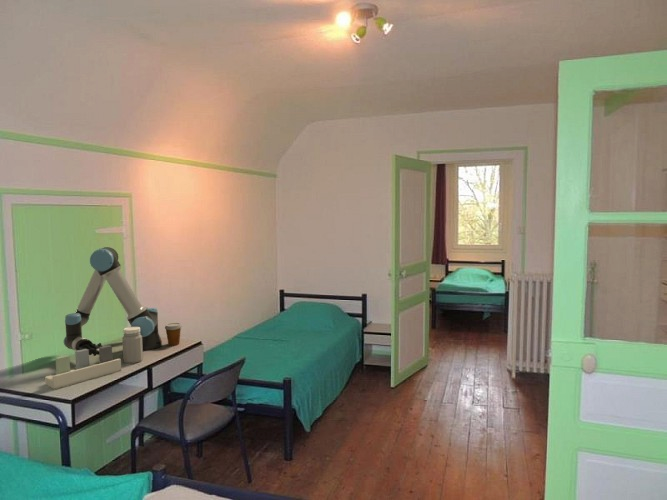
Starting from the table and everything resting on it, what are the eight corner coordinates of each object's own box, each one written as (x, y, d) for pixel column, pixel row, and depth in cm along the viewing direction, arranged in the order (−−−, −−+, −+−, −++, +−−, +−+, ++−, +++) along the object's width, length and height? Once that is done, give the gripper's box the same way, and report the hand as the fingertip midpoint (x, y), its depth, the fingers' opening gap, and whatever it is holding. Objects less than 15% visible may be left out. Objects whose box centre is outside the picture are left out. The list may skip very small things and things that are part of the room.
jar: (138, 357, 258) (137, 325, 256) (146, 361, 251) (144, 328, 249) (120, 361, 251) (118, 328, 249) (127, 365, 244) (126, 331, 242)
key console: (45, 384, 218) (44, 371, 218) (111, 366, 242) (110, 355, 242) (54, 389, 212) (54, 376, 211) (121, 370, 236) (120, 359, 236)
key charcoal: (100, 370, 233) (98, 347, 232) (110, 368, 237) (108, 345, 236) (103, 372, 231) (101, 348, 230) (113, 369, 235) (111, 346, 234)
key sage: (56, 382, 217) (55, 357, 216) (68, 379, 221) (66, 354, 220) (59, 384, 216) (58, 358, 215) (71, 380, 219) (69, 356, 218)
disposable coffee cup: (176, 346, 277) (176, 326, 276) (162, 345, 279) (161, 326, 278) (185, 342, 286) (184, 323, 285) (171, 341, 288) (170, 322, 287)
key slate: (76, 375, 227) (75, 351, 226) (87, 372, 231) (85, 348, 230) (79, 376, 225) (77, 352, 224) (89, 373, 229) (88, 349, 228)
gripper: (95, 349, 255) (117, 357, 240) (70, 355, 244) (91, 364, 230) (94, 336, 254) (116, 343, 239) (69, 341, 244) (90, 349, 229)
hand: (103, 353), depth 235 cm, fingers closed
